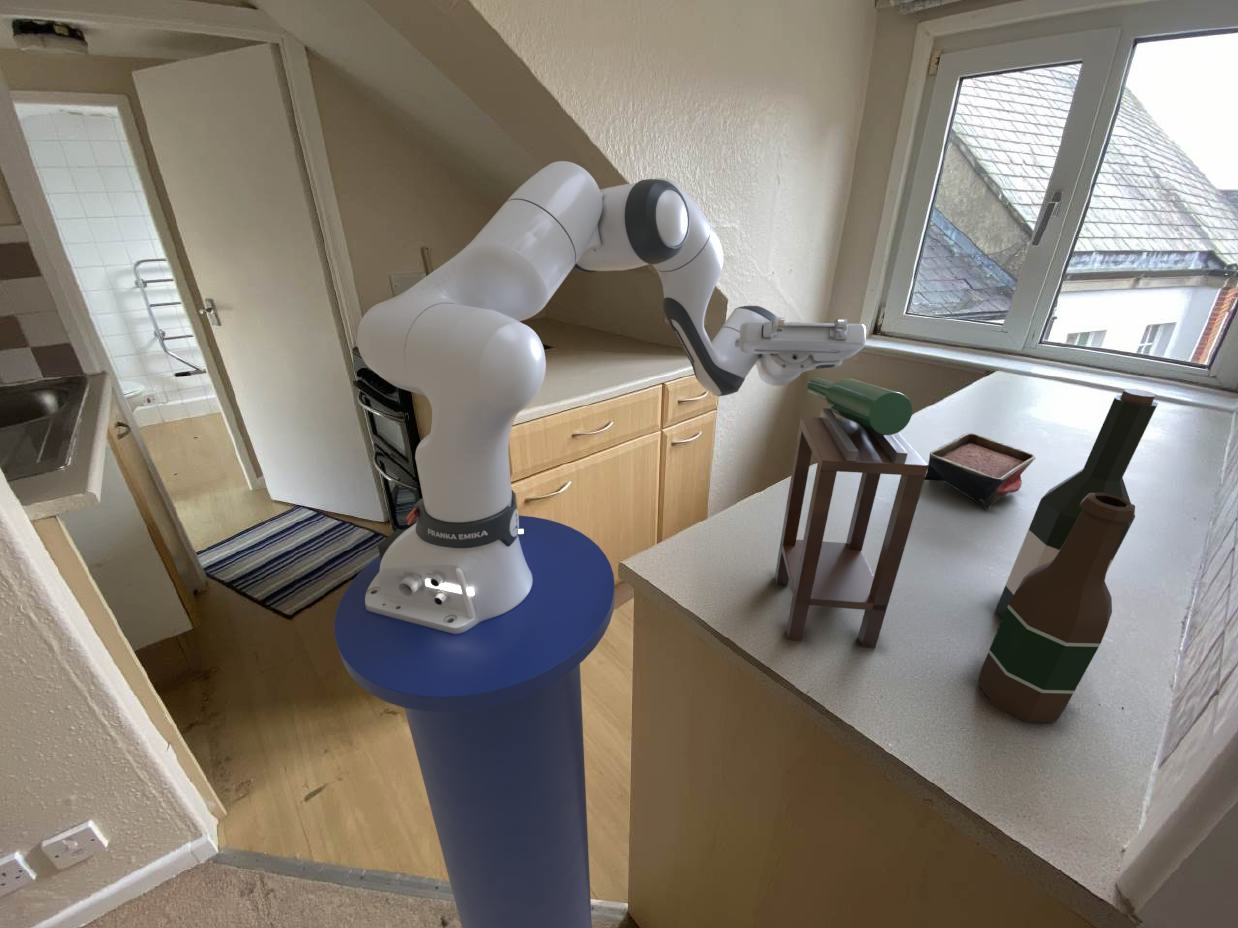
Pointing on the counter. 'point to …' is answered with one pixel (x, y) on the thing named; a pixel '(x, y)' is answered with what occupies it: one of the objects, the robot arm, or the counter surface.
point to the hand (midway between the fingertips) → (810, 323)
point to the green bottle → (864, 404)
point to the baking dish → (979, 467)
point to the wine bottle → (1084, 487)
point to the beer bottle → (1057, 618)
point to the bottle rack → (842, 567)
